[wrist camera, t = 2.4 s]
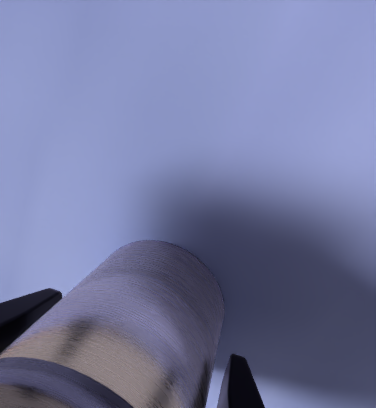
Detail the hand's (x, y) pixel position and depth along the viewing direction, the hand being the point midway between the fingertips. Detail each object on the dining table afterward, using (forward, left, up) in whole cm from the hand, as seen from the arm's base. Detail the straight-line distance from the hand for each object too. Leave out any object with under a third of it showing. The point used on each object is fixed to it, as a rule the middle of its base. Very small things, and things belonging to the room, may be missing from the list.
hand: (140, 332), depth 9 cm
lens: (0, 0, -2) cm, 2 cm away
